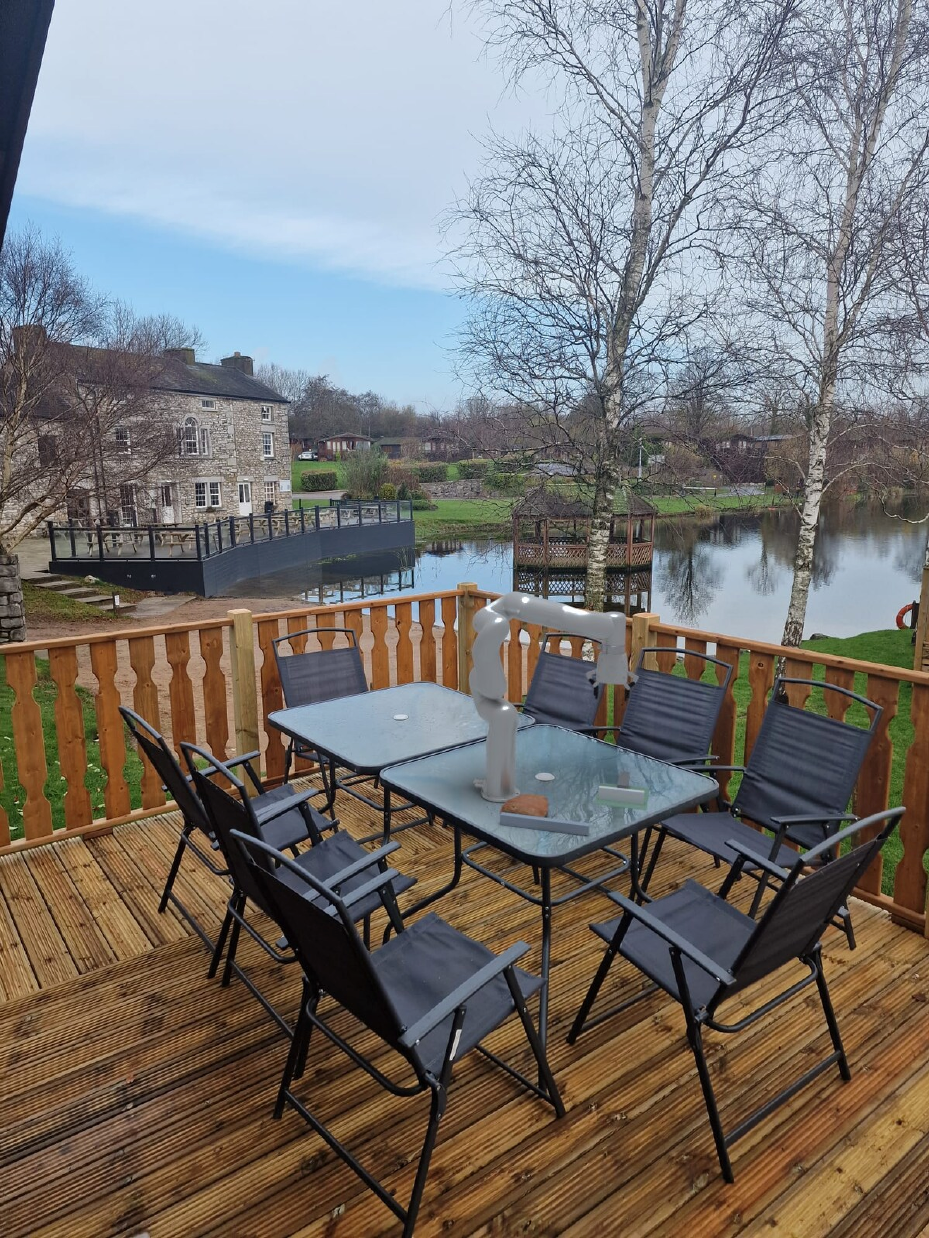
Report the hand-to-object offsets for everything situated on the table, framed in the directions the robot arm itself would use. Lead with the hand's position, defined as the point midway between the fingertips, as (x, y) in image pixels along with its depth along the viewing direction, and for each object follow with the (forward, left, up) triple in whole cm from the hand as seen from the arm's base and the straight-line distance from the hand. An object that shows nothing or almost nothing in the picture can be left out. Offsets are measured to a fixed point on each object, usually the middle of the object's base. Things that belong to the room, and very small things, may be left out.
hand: (611, 699), depth 254 cm
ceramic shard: (-19, -34, -29) cm, 49 cm away
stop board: (-14, -44, -28) cm, 54 cm away
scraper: (+6, -12, -28) cm, 31 cm away
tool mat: (+6, -14, -28) cm, 32 cm away
